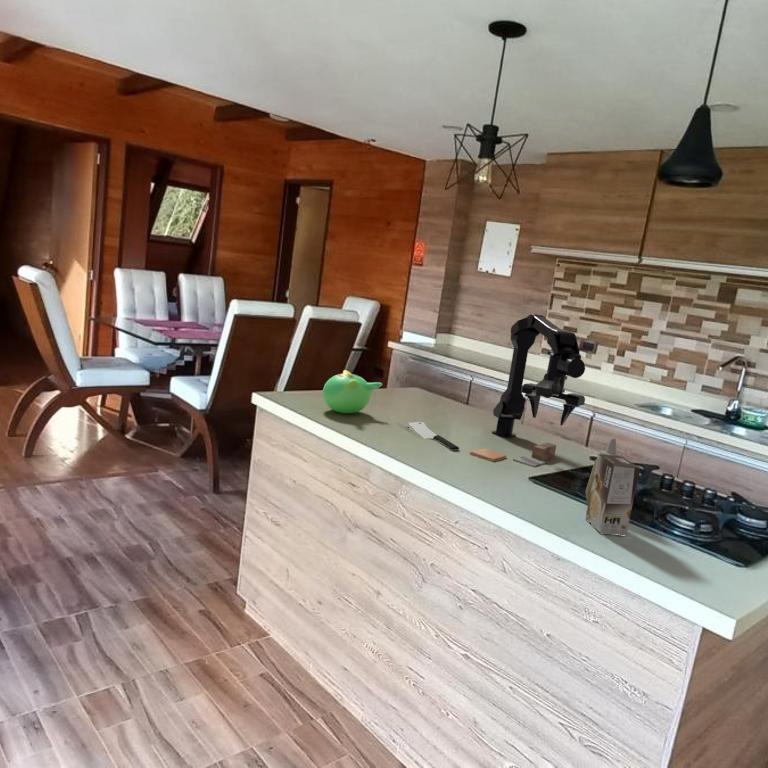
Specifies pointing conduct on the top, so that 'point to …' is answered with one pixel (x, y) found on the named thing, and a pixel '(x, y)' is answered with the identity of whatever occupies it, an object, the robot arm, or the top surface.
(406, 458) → the top surface
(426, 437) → the kitchen cleaver
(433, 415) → the top surface
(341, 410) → the toy bird
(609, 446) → the squeeze bottle
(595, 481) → the coffee box
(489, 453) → the tile
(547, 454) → the turner
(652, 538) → the top surface
